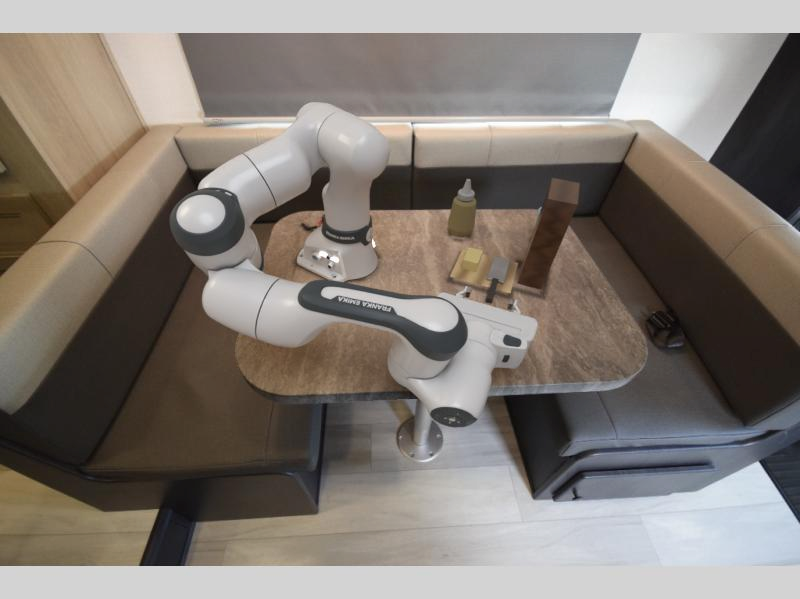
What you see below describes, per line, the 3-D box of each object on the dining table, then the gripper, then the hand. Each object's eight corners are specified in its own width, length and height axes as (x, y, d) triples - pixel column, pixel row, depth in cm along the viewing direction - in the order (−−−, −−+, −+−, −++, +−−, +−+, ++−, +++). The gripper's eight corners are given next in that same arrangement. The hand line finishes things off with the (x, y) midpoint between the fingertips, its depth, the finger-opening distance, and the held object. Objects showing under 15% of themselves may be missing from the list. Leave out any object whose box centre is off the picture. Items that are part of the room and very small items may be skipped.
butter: (461, 268, 95) (463, 259, 93) (466, 255, 99) (468, 247, 97) (475, 272, 94) (477, 263, 92) (480, 259, 98) (482, 250, 96)
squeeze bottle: (471, 244, 105) (483, 188, 92) (444, 240, 106) (452, 185, 93) (473, 229, 110) (484, 174, 98) (447, 225, 111) (455, 171, 99)
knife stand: (511, 288, 92) (542, 199, 73) (518, 261, 100) (548, 174, 81) (542, 297, 90) (582, 207, 71) (547, 269, 98) (584, 181, 79)
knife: (479, 300, 87) (480, 296, 85) (493, 257, 98) (494, 253, 97) (497, 305, 85) (498, 301, 84) (509, 262, 97) (511, 257, 96)
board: (448, 280, 93) (449, 276, 92) (461, 252, 102) (462, 248, 101) (509, 297, 90) (510, 293, 88) (517, 267, 98) (518, 262, 97)
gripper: (421, 337, 69) (441, 291, 78) (525, 371, 64) (534, 318, 73) (423, 316, 65) (444, 270, 74) (536, 350, 60) (544, 297, 69)
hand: (490, 294), depth 74 cm, fingers open, 8 cm apart
